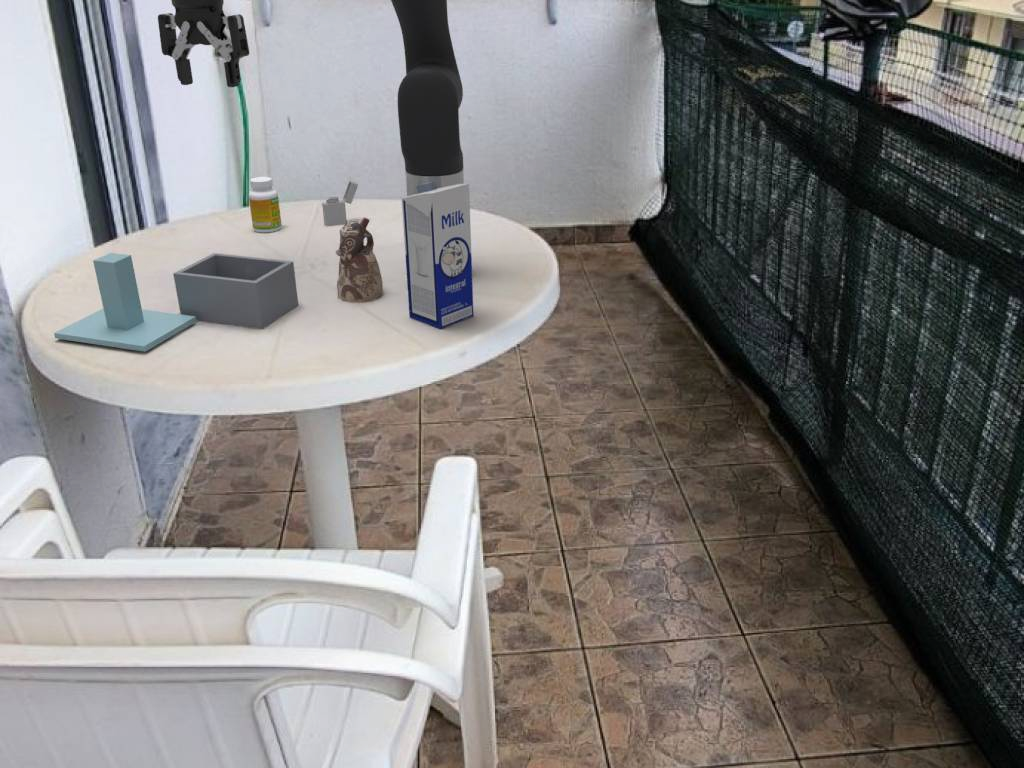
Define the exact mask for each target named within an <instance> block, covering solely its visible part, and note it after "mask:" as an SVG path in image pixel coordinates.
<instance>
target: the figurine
mask: <svg viewBox="0 0 1024 768" xmlns="http://www.w3.org/2000/svg"><path fill="white" fill-rule="evenodd" d="M369 224H370V219H369V218H367V217H363V218H362V220H361V221H360V223H359V222H358V221H356V220H347V223H346V224H343V226H342V227H341V228H340V229H339V230H338V231H339V246H338V249H337V250H335V255H337V256H338V257H339V262H338V278H337V282H336V290H337V299H339V300H341V302H348V303H354V302H362V303H367V302H372V301H374V299H375V300H377V299H378V298H380V297H381V296H382V295H383V294H382V293H383V291H384V290H383V288H384V286H383V278H382V274H381V269H380V265H379V263H378V260H377V257H376V255H375V254H374V245H375V244H374V243H375V242H374V238H373V235H372V233H371V232H370V231H369V230H368V229H367V227H368V225H369ZM364 239H366V244H365V242H364V241H365V240H364Z"/></svg>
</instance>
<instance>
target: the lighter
mask: <svg viewBox="0 0 1024 768" xmlns="http://www.w3.org/2000/svg"><path fill="white" fill-rule="evenodd" d="M358 186H359V184H358V183H357V182H356V181H353V180H349V181H348V183H347V187H346V188H345V192H344V195H343V198H342V199H339V197H338V195H337V196H329V197H328V198H326V200H325V201H326V202H322V203H321V206H322V215H323V224H324V226H325V225H326V226H325V227H333V225H334V226H339V225H340V224H341V225H345V224H346V223H347V222H348V219H347V211H346V203H347V204H350V205H352V203H353V201H354V197H355V194H356V191H357V189H358Z"/></svg>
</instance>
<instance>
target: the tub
mask: <svg viewBox="0 0 1024 768" xmlns="http://www.w3.org/2000/svg"><path fill="white" fill-rule="evenodd" d="M173 279H174V286H175V291H176V296H177V302H178V307H179V312H180V313H179V314H182V315H189V316H196V321H199V322H208V323H215V324H221V325H229V326H235V327H236V326H237V327H245V328H254V329H258V330H259V329H261V330H263V329H264V328H266V327H268V326H269V325H270V324H272V323H273V322H275V321H277V320H278V319H279V318H281V317H283V316H284V315H286V314H287V313H288V312H290V311H292V310H293V309H294V308H296V307H298V306H299V298H298V290H297V280H296V274H295V265H294V261H292V260H283V259H275V258H273V259H272V258H266V257H265V258H263V257H253V256H244V255H235V254H226V253H215V252H213V253H211V254H209V255H207V256H205V257H204V258H202V259H199V260H198V261H195V262H194V263H192V264H190V265H188V266H185V267H184V268H182V269H179V270H177V271H176V272H173Z"/></svg>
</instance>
